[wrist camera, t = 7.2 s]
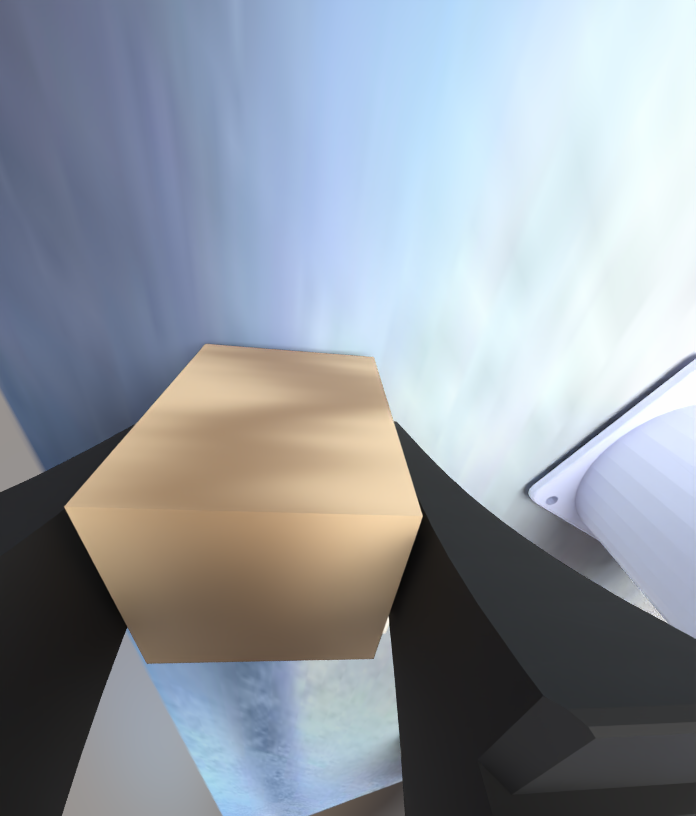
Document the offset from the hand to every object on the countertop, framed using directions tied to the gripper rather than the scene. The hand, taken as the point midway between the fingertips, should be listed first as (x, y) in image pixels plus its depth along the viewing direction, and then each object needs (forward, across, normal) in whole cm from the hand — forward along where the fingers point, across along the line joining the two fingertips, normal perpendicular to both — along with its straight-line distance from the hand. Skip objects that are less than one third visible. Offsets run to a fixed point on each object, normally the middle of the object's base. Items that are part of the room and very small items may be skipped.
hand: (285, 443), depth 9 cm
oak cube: (+2, 0, 0) cm, 2 cm away
